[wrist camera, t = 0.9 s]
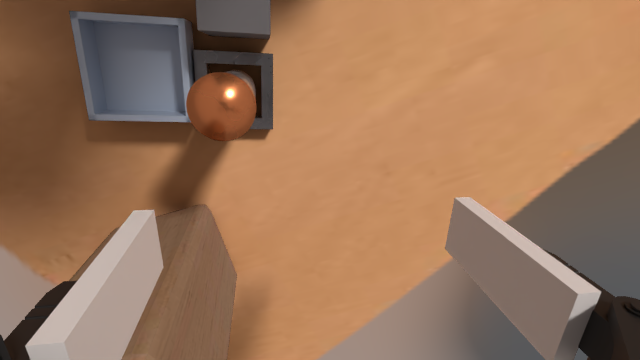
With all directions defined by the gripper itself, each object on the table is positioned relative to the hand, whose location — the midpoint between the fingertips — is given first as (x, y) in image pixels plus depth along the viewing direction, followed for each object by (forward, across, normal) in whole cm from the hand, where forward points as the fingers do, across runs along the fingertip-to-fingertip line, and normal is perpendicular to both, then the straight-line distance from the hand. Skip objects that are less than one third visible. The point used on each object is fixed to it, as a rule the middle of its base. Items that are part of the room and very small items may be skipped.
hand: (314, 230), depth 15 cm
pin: (+20, -5, +4) cm, 21 cm away
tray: (+20, -12, +5) cm, 24 cm away
